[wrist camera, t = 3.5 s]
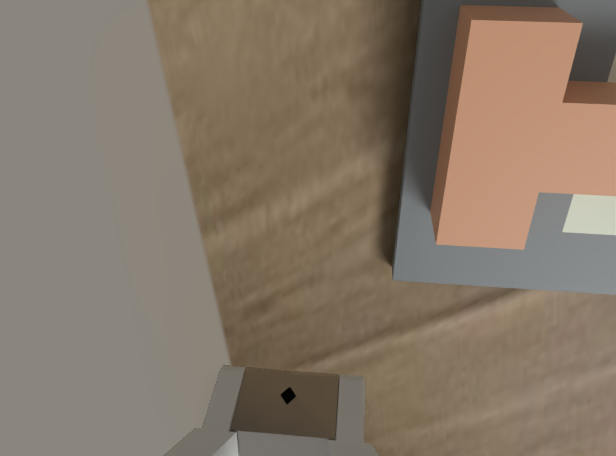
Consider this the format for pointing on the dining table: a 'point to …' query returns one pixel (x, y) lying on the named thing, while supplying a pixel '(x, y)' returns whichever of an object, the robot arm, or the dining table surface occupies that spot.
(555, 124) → the t block
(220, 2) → the dining table surface
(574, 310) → the dining table surface
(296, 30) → the dining table surface
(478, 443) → the dining table surface
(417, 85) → the board
